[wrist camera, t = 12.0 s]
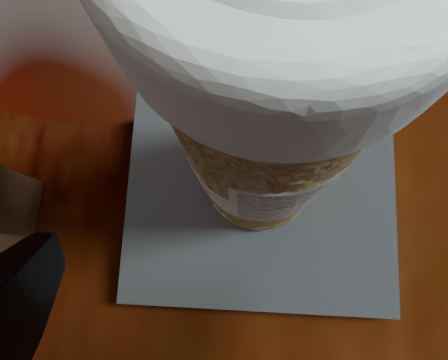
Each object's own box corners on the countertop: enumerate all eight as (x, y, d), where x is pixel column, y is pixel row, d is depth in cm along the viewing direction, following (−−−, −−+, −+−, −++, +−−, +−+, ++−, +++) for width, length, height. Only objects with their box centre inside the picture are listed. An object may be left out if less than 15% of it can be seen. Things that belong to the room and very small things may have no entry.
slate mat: (390, 316, 16) (400, 319, 15) (124, 301, 17) (116, 303, 16) (382, 64, 18) (390, 53, 17) (146, 61, 19) (141, 50, 18)
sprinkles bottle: (198, 133, 17) (25, -317, 4) (304, 118, 17) (514, -405, 4) (211, 240, 16) (39, 143, 3) (324, 225, 16) (704, 48, 3)
